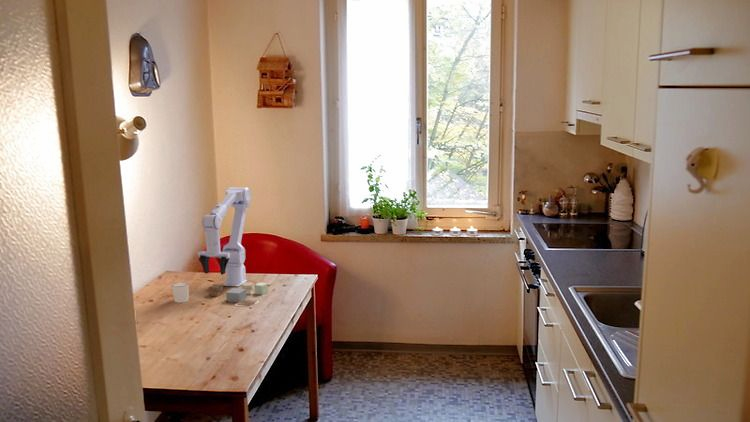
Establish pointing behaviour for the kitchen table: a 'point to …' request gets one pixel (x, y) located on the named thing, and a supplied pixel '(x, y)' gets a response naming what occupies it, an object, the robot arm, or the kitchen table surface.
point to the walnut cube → (215, 290)
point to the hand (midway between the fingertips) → (214, 273)
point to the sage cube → (261, 288)
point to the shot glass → (181, 292)
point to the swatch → (247, 303)
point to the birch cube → (248, 287)
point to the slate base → (236, 295)
